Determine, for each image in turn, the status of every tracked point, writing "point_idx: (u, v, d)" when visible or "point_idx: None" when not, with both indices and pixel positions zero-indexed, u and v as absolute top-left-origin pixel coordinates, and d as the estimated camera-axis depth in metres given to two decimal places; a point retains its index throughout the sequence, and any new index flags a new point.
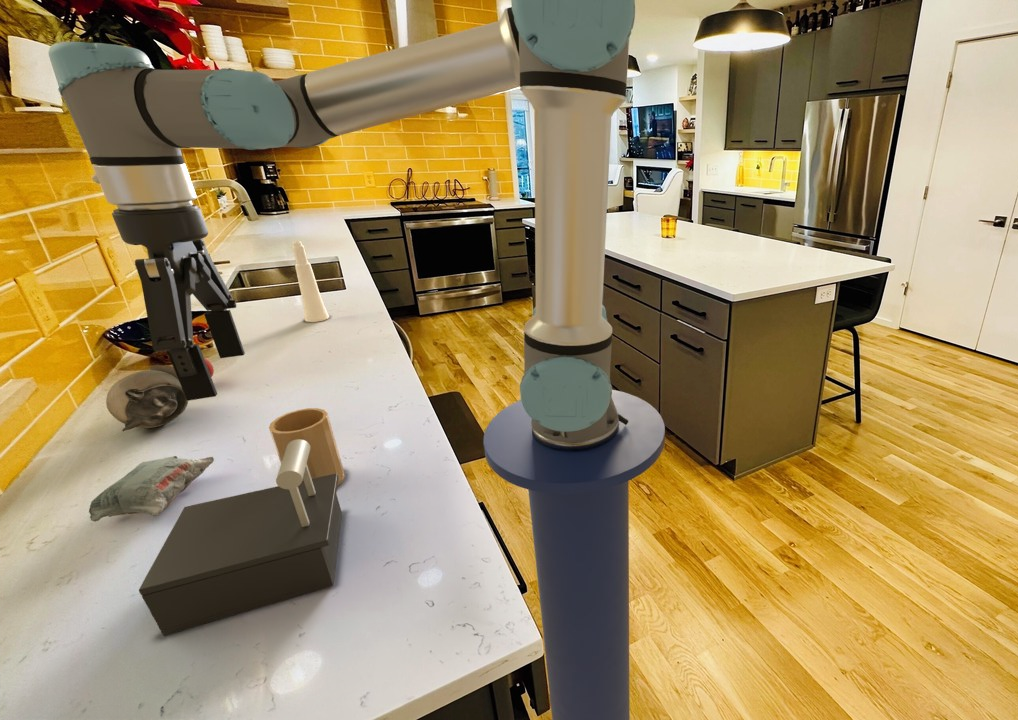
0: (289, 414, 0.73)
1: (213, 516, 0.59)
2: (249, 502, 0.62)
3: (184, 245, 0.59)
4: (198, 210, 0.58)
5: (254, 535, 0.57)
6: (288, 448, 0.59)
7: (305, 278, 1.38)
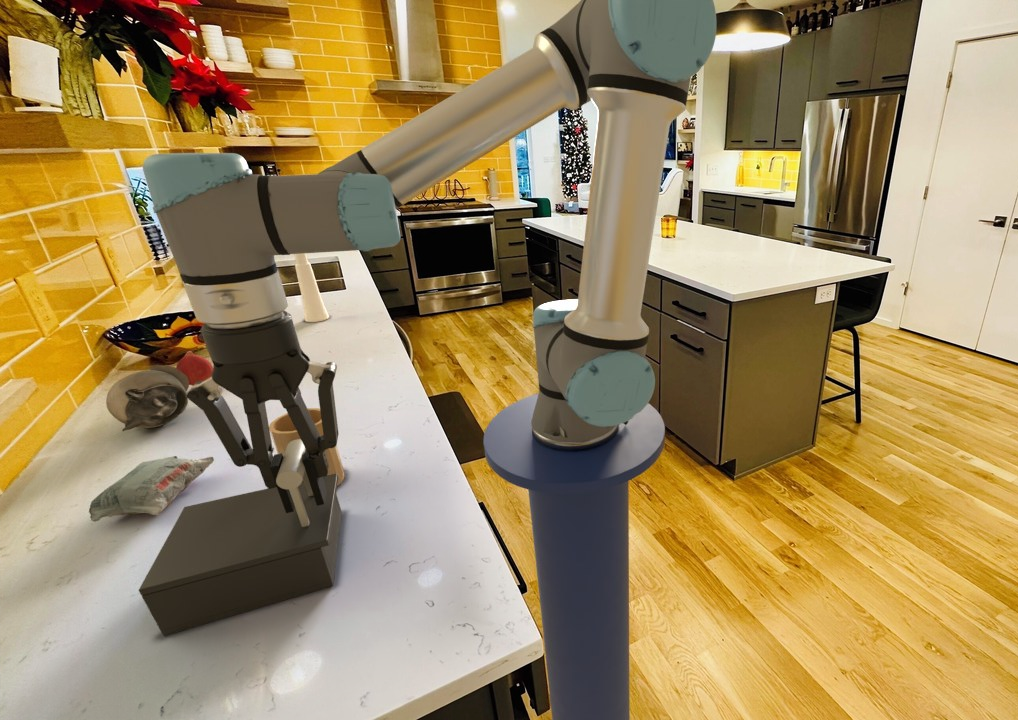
0: None
1: (213, 516, 0.59)
2: (249, 502, 0.62)
3: None
4: None
5: (254, 535, 0.57)
6: (288, 448, 0.59)
7: (305, 278, 1.38)
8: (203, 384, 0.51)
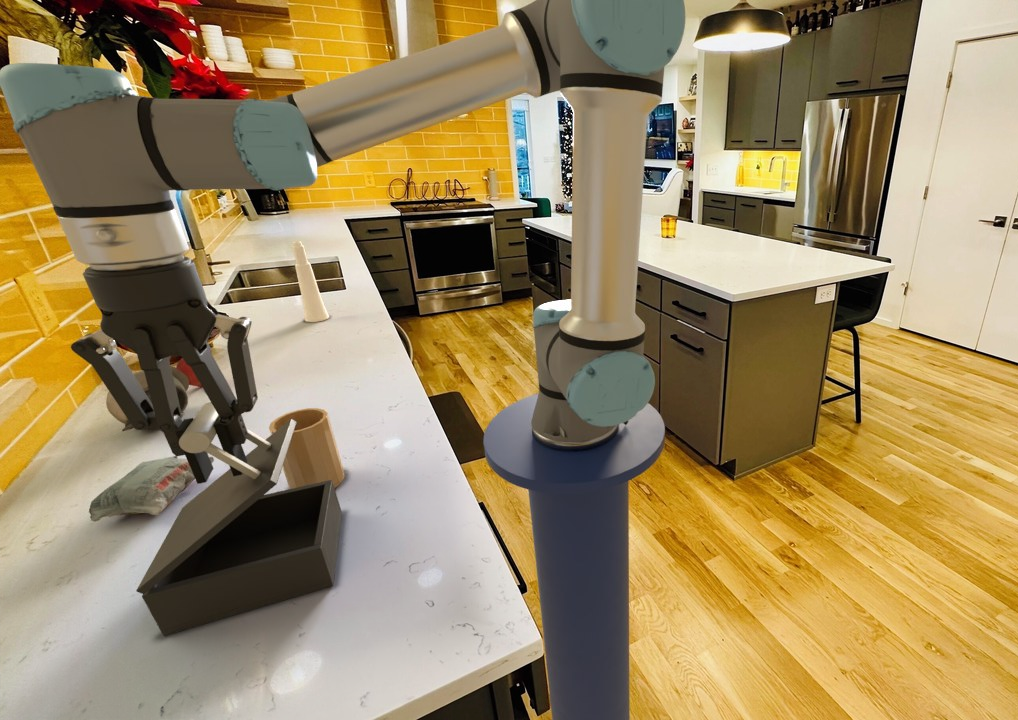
0: (289, 414, 0.73)
1: (198, 504, 0.58)
2: (224, 479, 0.59)
3: None
4: None
5: (220, 505, 0.54)
6: None
7: (305, 278, 1.38)
8: (91, 335, 0.46)
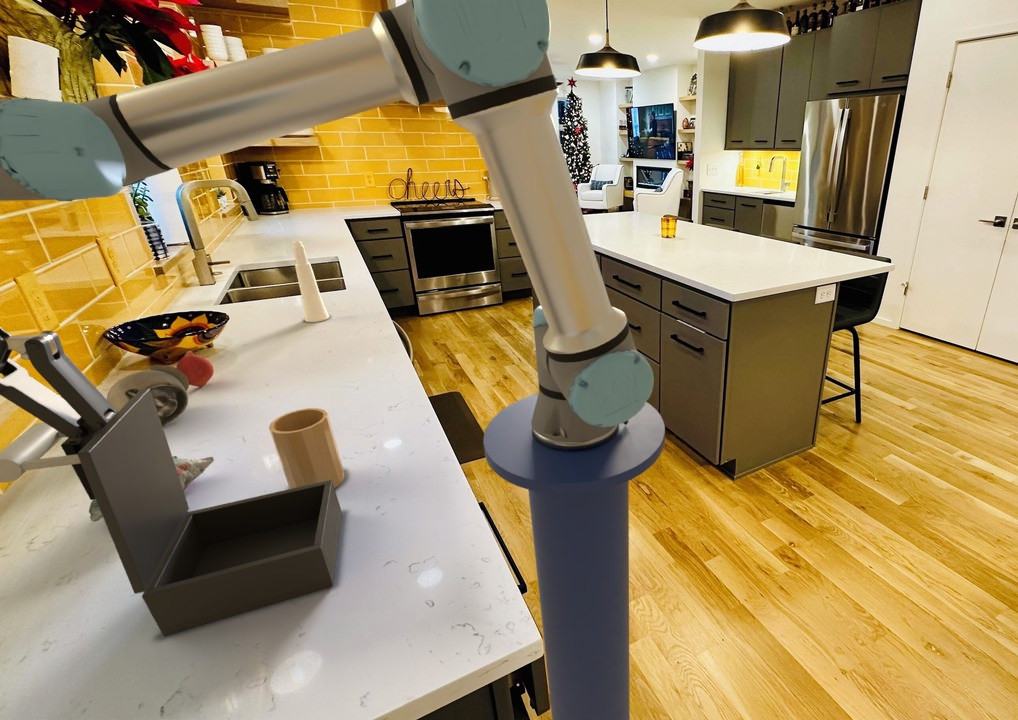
0: (289, 414, 0.73)
1: None
2: None
3: None
4: None
5: None
6: None
7: (305, 278, 1.38)
8: None
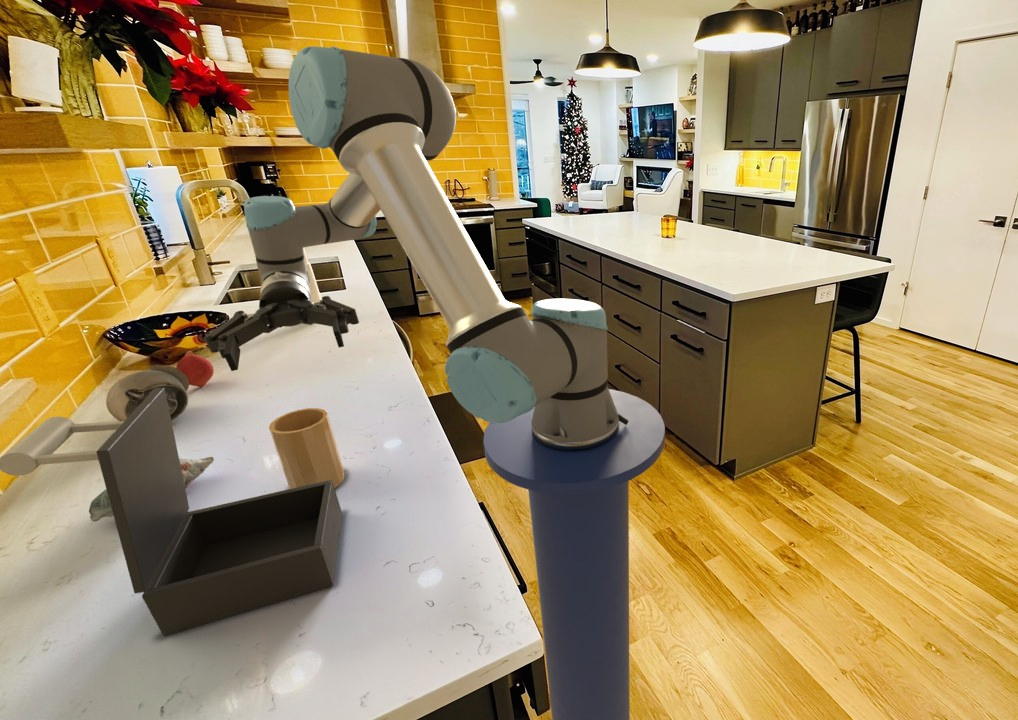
0: (289, 414, 0.73)
1: None
2: None
3: None
4: None
5: None
6: None
7: None
8: (248, 314, 0.83)
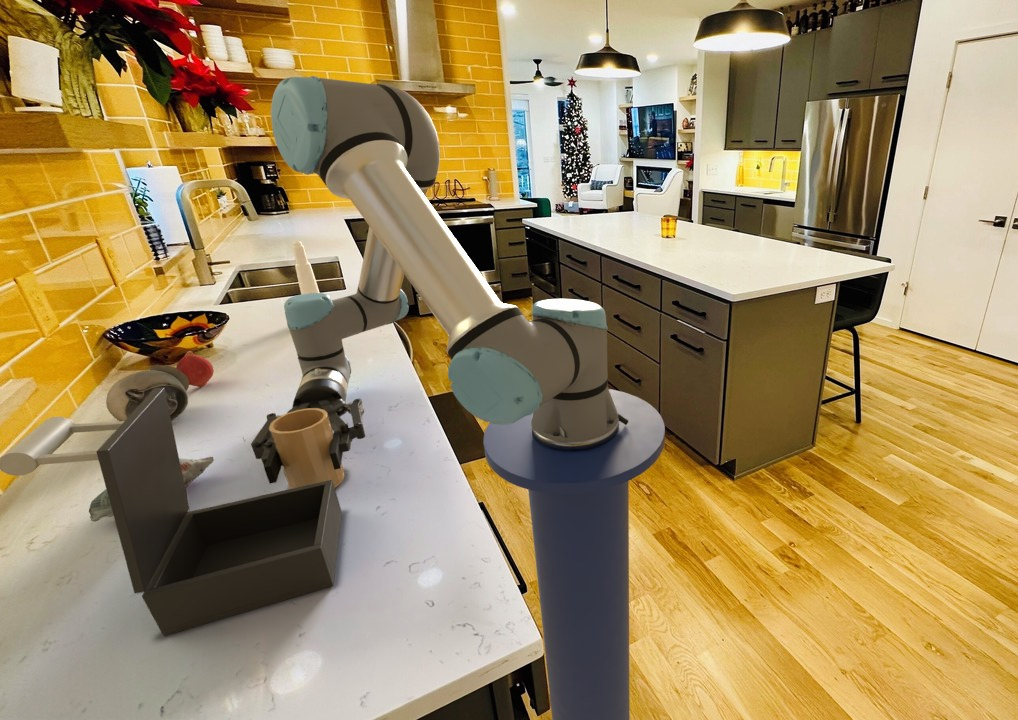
0: (289, 414, 0.73)
1: None
2: None
3: None
4: None
5: None
6: None
7: (305, 278, 1.38)
8: None
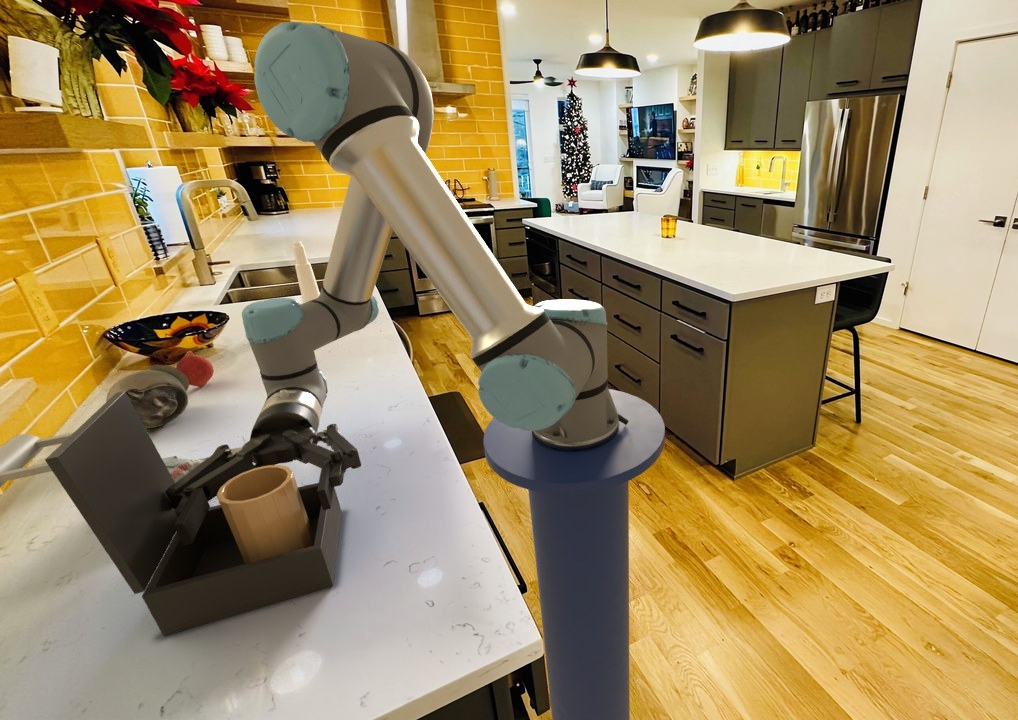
0: (245, 474, 0.59)
1: None
2: None
3: None
4: None
5: None
6: None
7: (305, 278, 1.38)
8: (234, 449, 0.66)
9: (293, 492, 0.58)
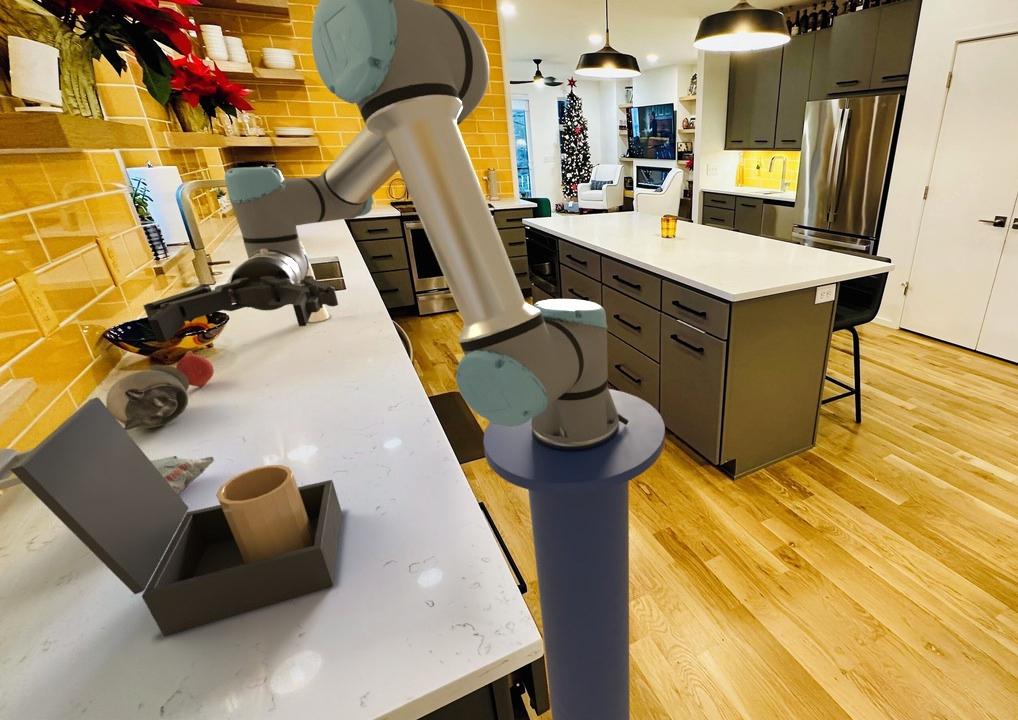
0: (245, 474, 0.59)
1: None
2: None
3: None
4: None
5: None
6: None
7: None
8: None
9: (293, 492, 0.58)
